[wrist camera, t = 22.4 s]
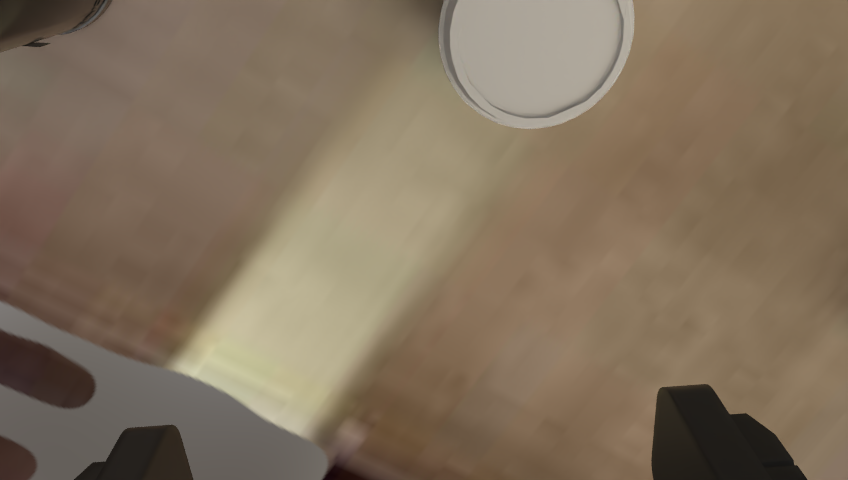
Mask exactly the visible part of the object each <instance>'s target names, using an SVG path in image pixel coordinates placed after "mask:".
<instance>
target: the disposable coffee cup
mask: <svg viewBox="0 0 848 480" xmlns="http://www.w3.org/2000/svg"><path fill="white" fill-rule="evenodd" d="M633 34H634V7H633V0H444V3H443V6H442V9H441V15H440V21H439V48H440V55H441V59H442V62H443V66H444V69H445V72H446V74H447V76H448V78H449V80H450V82H451V84H452V86H453V87H454V89H455V90H456V91H457V93H458V94H459V95H460V96H461V98H462V99H463V100H464V102H465V103H467V104H468V105H469V106H470V107H471V108H473V109H474V110H475V111H476V112H478V113H479V114H480V115H482V116H484V117H486V118H488V119H490V120H492V121H494V122H496V123H499V124H502V125H506V126H509V127H514V128H524V129H535V128H544V127H550V126H554V125H558V124H561V123H564V122H566V121H568V120H571V119H573V118H575V117H577V116H579V115H580V114H582V113H583V112H585V111H587V110H588V109H589V108H591V107H592V106H593V105H594V104H596V103H597V102H598V101H599V100H600V99H601V98H602V97H603V96H604V95H605V94H606V93H607V92H608V91H609V89H610V88H611V87H612V85H613V84H614V83H615V81H616V80H617V78H618V76H619V75H620V73H621V71H622V70H623V67H624V65H625V62H626V60H627V57H628V55H629V53H630V48H631V44H632V40H633Z"/></svg>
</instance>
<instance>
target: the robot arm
mask: <svg viewBox="0 0 848 480" xmlns="http://www.w3.org/2000/svg"><path fill="white" fill-rule="evenodd" d="M110 2H111V0H0V52H3V51H7V50H10V49H13V48H16V47H20V46H32V47H41V46H44V45H47V44H50V43H34V42H36V41H39V40H42V39H45V38H49V37H52V36H55V35H62V34H67V33H71V32H74V31H77V30H80V29H82V28H84V27H86V26H88V25H90V24H91V23H93V22H94V21H95V20H97V19H98V18H99V17H100V16H101V15H102V14H103V13H104V11H105V10H106V9H107V7H108V6H109V4H110ZM652 473H653V479H654V480H807V478H806V477H805V476H804V474H803V473H802V471H801V470H800V469H799V467H798V466H797V465H796V466H795V465H794V462H793V459H792V457H791V456H790V455H789V453H788V452H787V451H786V449H785V448H784V446H783V445H782V444H781V442H780V441H779V439H778V438H777V437H776V435H775V434H774V433H772V432H771V431H770V430H768V429H767V428H766V427H764V426H763V425H761V424H760V423H759V422H757V421H756V420H755V419H753V418H752V417H751V416H749V415H748V414H746V413H745V414H731V415H730V414H729V413H728V411H727V410H726V408H725V407H724V405H723V404H722V402H721V401H720V399H719V398H718V396H717V395H716V393H715V391H714V390H713V389H712V388H711V387H710V386H709V385H707V384H701V385H687V386H673V387H662V388H660V389H659V391H658V395H657V403H656V414H655V425H654V437H653V448H652ZM74 480H193V477H192V473H191V470H190V466H189V463H188V459H187V456H186V453H185V449H184V446H183V442H182V439H181V436H180V433H179V430H178V429H177V427H176V426H174V425H163V426H148V427H135V428H127V429H126V430H124V431H123V432H122V434H121V435H120V437H119V439H118V440H117V442H116V444H115V446H114V448H113V449H112V451H111V453H110V455H109V457H108V458H107V460H106V462H95V463H92V464H91V465H90V466H88V467H87V468H86V469H85V470H84V471H83V472H82V473H81V474H80V475H79V476H77V477H76V478H75V479H74Z"/></svg>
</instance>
